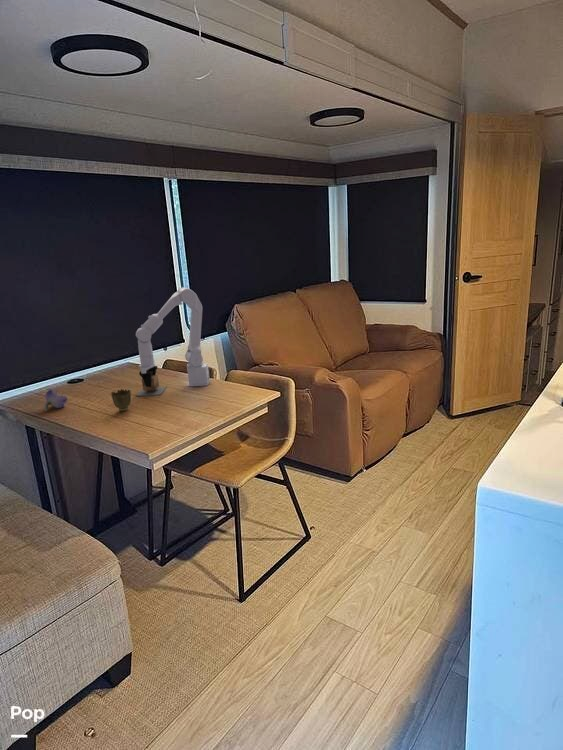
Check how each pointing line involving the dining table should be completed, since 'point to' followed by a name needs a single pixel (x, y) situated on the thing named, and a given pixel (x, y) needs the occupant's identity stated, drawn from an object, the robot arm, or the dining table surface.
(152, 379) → the walnut cube
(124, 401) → the cup
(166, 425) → the dining table surface
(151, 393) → the mat
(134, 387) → the dining table surface
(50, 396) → the flower
